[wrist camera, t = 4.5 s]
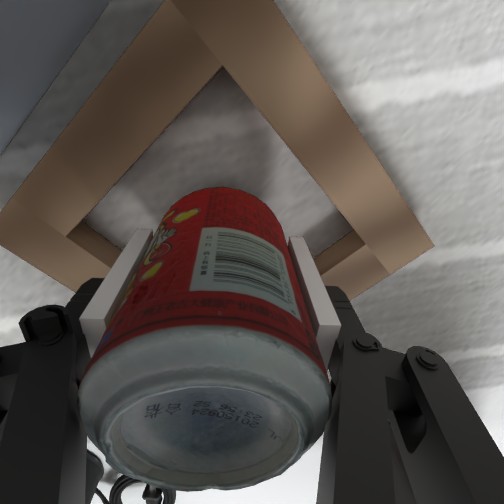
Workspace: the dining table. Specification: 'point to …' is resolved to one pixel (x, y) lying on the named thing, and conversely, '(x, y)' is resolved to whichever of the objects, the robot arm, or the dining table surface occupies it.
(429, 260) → the dining table surface
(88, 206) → the collar block
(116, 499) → the milk frother
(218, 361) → the soda can
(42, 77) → the bin
